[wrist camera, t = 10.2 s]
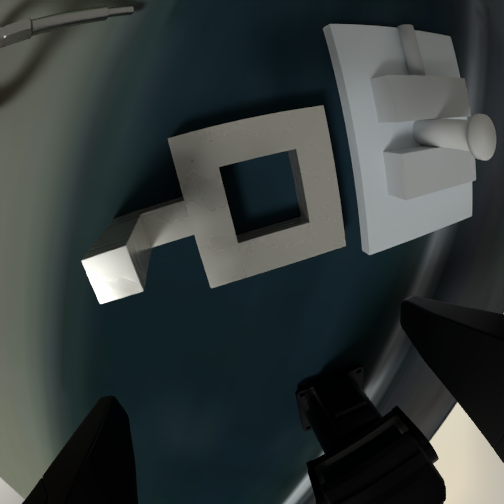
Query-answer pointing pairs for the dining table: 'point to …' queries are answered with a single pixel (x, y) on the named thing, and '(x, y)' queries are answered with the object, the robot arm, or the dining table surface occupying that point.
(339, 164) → the dining table surface
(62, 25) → the tow hook
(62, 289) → the dining table surface
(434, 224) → the plate with round-ended peg
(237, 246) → the square frame with handle
